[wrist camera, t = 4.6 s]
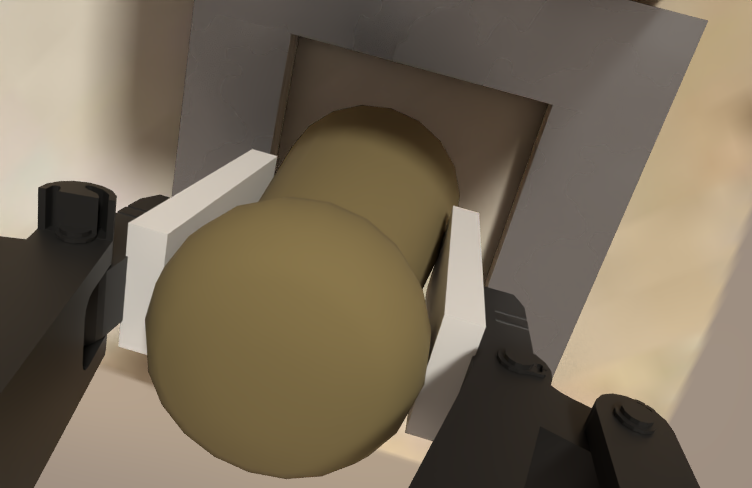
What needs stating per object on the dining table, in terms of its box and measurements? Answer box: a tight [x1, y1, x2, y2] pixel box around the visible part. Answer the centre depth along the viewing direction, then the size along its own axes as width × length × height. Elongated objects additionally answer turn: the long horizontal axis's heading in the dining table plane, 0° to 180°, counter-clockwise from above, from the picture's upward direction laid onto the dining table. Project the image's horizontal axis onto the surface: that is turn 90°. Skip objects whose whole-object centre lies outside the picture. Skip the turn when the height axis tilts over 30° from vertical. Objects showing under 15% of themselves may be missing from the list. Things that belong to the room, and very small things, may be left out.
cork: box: [145, 105, 460, 479], centre depth 14 cm, size 6×6×11 cm
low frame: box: [172, 0, 708, 378], centre depth 21 cm, size 16×16×1 cm
